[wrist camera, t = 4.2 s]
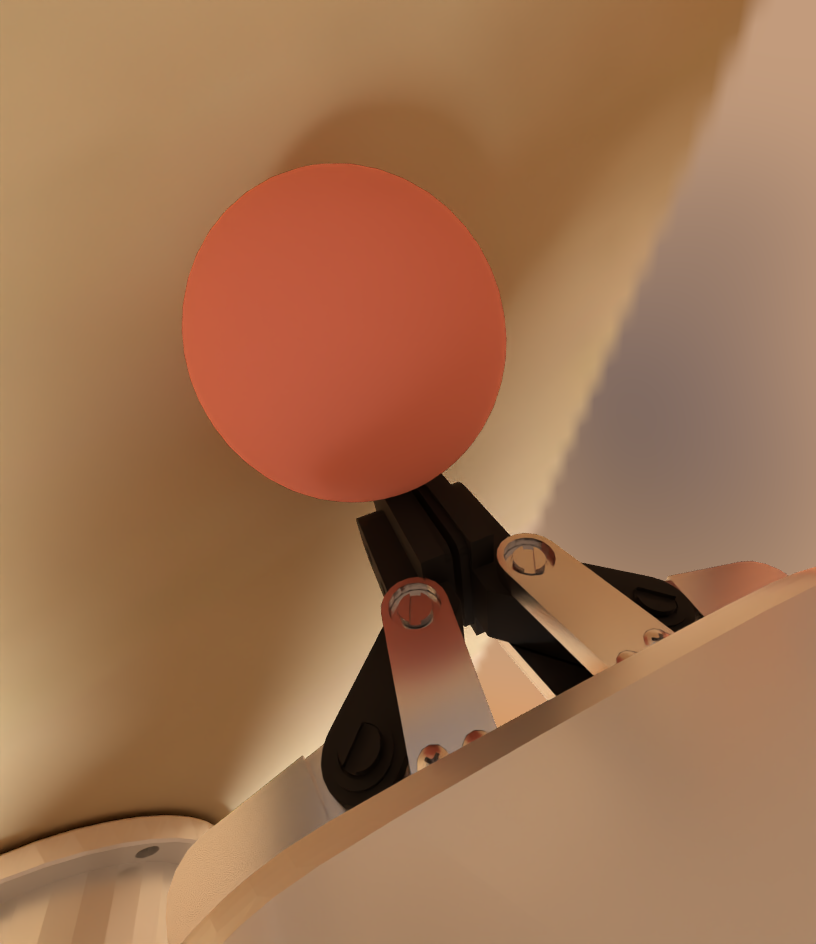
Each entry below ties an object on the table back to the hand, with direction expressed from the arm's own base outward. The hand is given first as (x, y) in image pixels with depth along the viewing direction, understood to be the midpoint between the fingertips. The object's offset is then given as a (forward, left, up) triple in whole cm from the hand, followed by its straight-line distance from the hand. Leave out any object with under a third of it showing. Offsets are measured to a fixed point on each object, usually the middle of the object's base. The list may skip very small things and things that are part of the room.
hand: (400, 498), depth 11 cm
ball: (+5, 0, +1) cm, 5 cm away
